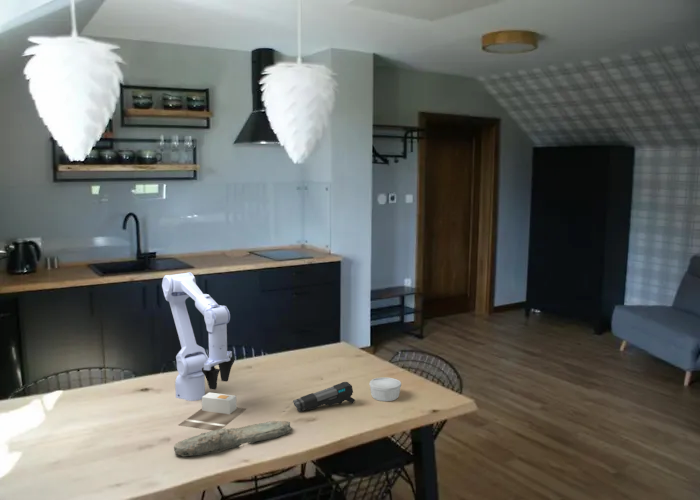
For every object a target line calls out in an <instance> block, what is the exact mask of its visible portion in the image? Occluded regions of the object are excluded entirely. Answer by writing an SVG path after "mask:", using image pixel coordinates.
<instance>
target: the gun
mask: <svg viewBox="0 0 700 500" xmlns="http://www.w3.org/2000/svg"><path fill="white" fill-rule="evenodd" d="M353 393H354V390H353V385H352V384H351V383H350V382H349V381H342V382H340V383H338V384H333V385H332V386H331V387H328V388H325V389H321V390H319V391H316V392H312V393H309V394H306V395H303V396H300V397H299V398H296V399H294V400H293V401H292V402H293V406H294V407H295V409H296V410H297V412H299V413H302V412H303V411H305V410H307V411H311V410H314V409H317V408H319V407H321V406H324V405H325V406H329V407H331V406H333V405H337V404H339V405H342V403H344V402H345V401H347V402H348V403H350V404H354V403H355V401H356V399H355V398H353V397H352V396H353Z"/></svg>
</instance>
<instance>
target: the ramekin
mask: <svg viewBox="0 0 700 500" xmlns="http://www.w3.org/2000/svg"><path fill="white" fill-rule="evenodd" d="M368 385H369V387H370V389H369V390H370V394H371V397H372V398H373V399H374V400H376V401H379V402H393V401H396V400H397V399H398V398H399V397H400V393H401V386H402V381H400V380H399V379H396V378H393V377H375V378H372V379H371V380H370V381H369V384H368Z"/></svg>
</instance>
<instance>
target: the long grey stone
mask: <svg viewBox="0 0 700 500" xmlns="http://www.w3.org/2000/svg"><path fill="white" fill-rule="evenodd" d="M290 432H291V422H289V421H286V420H272V421H271V420H270V421H267V422H262V423H261V422H260V423H254V424H250V425H245V426H241V427H236V428H235V427H234V428H233V427H232V428H222V429H217V430H214V431H213V430H209V431H206V432H202V433H200V434H197V435H195V436H191V437H188V438H185V439H183V440H181V441H177V442H176V443H175V444H174V446H173V451H174V453H175V454H176V455H178V456H181V457H189V456H203V455H208V454H211V453H212V454H218V453H220V452H224V451H225V450H229V449H232V448H237V447H240V446H241V445H242V444H246V443H249V444H254V443H256V442H259V441H260V442H261V441H264V440H265V441H267V440H272V439H277V438H278V437H281V436H285V435H286V434H289V433H290Z"/></svg>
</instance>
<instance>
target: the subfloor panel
mask: <svg viewBox="0 0 700 500" xmlns="http://www.w3.org/2000/svg"><path fill="white" fill-rule="evenodd" d="M246 410H247V408H245V407H243V408H242V407H237V406H236V410H235V411H233V412H232V413H231V414H224V413H217V412H210V411H203V410H202V408H200V409H199V410H198V411H196V412H194V413H193V414H192V415H191V416H189V417H187V418H185V419H184V420H183V421H182V422H181V423H179V424H178V426H181V427H188V428H195V429H201V430H206V431H214V430H217V429H224V428H225V427H226V426H227V425H228V424H230V423H231V422H232V421H233V420H234V419H236V418H237V417H238V416H240V415H241V414H242V413H243V412H245V411H246Z"/></svg>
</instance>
